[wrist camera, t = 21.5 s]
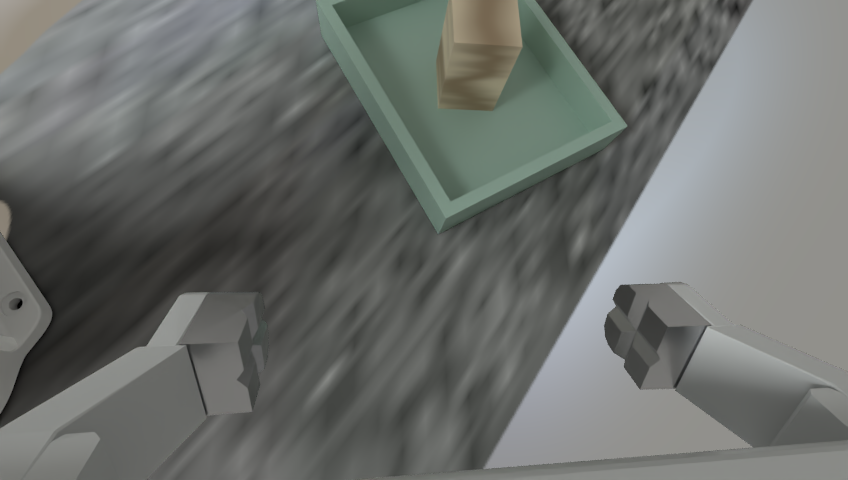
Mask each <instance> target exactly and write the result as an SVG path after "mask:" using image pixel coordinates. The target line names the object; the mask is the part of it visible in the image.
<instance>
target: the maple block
mask: <svg viewBox="0 0 848 480" xmlns="http://www.w3.org/2000/svg"><path fill="white" fill-rule="evenodd" d="M522 47H523V46H522V37H521V27H520V18H519V9H518V0H448V5H447V10H446V15H445V20H444V25H443V30H442V34H441V39H440V44H439V49H438V54H437V59H436V73H437V100H438V109H459V110H481V111H493V109H494V107H495V105H496V103H497V101H498V98H499V96H500V94H501V92H502V90H503V88H504V86H505V84H506V81H507V79H508V77H509V75H510V73H511V71H512V69H513V66H514V64H515V62H516V60H517V58H518V56H519V54H520V51H521V49H522Z"/></svg>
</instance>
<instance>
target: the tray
mask: <svg viewBox="0 0 848 480" xmlns="http://www.w3.org/2000/svg"><path fill="white" fill-rule="evenodd" d="M316 4H317V11H318V17H319V23H320V29H321V35H322V37H323V39H324V40H325V42H326V44H327V46H328V47H329V49H330V51H331V52H332V54H333V56H334V58H335V59H336V61H337V63H338V64H339V66H340V68H341V69H342V71H343V73H344V75H345V76H346V78H347V80H348V81H349V83H350V85H351V87H352V88H353V90H354V92H355V93H356V95H357V97H358V98H359V100H360V102H361V104H362V105H363V107H364V109H365V110H366V112H367V114H368V116H369V117H370V119H371V121H372V122H373V124H374V126H375V127H376V129H377V131H378V133H379V134H380V136H381V138H382V139H383V141H384V143H385V145H386V146H387V148H388V150H389V151H390V153H391V155H392V156H393V158H394V160H395V162H396V163H397V165H398V167H399V168H400V170H401V172H402V174H403V175H404V177H405V179H406V180H407V182H408V184H409V185H410V187H411V189H412V191H413V192H414V194H415V196H416V197H417V199H418V201H419V203H420V204H421V206H422V208H423V209H424V211H425V213H426V214H427V216H428V218H429V220H430V221H431V223H432V225H433V226H434V228H435V230H436V232H437V233H438V234H440V233H442V232H444V231H446V230H448V229H450V228H452V227H454V226H455V225H457V224H459V223H461V222H463V221H465V220H467V219H469V218H471V217H473V216H475V215H477V214H479V213H481V212H483V211H485V210H487V209H488V208H490V207H492V206H494V205H496V204H498V203H500V202H502V201H504V200H506V199H508V198H510V197H512V196H514V195H516V194H518V193H519V192H521V191H523V190H525V189H527V188H529V187H531V186H533V185H535V184H537V183H539V182H541V181H543V180H545V179H547V178H549V177H550V176H552V175H554V174H556V173H558V172H560V171H562V170H564V169H566V168H568V167H570V166H572V165H574V164H576V163H578V162H580V161H582V160H583V159H585V158H587V157H589V156H591V155H593V154H595V153H597V152H599V151H601V150H603V149H604V148H605V147H606V146H607V145H608V144H609V143H610V142H611V141H613V140H614V139H615V138H616V137H617V136H618V135H619V134H620V133H621V132H622V131H623V130H624V129H625V128H626V127H627V124H626V123H625V122H624V120H623V119H622V118H621V116H620V115H619V114H618V112H617V111H616V109H615V108H614V107H613V105H612V104H611V103H610V101H609V100H608V99H607V97H606V96H605V95H604V93H603V92H602V90H601V89H600V88H599V86H598V85H597V84H596V82H595V81H594V80H593V78H592V77H591V75H590V74H589V73H588V71H587V70H586V69H585V67H584V66H583V65H582V63H581V62H580V60H579V59H578V58H577V56H576V55H575V54H574V52H573V51H572V50H571V48H570V47H569V45H568V44H567V43H566V41H565V40H564V39H563V37H562V36H561V35H560V33H559V32H558V30H557V29H556V28H555V26H554V25H553V24H552V22H551V21H550V20H549V18H548V17H547V15H546V14H545V13H544V11H543V10H542V9H541V7H540V6H539V5H538V3H537V2H536V1H535V0H518V9H519V18H520V27H521V37H522V46H523V47H522V49H521V51H520V54H519V56H518V58H517V60H516V62H515V64H514V66H513V69H512V71H511V73H510V75H509V77H508V79H507V81H506V84H505V86H504V88H503V90H502V92H501V94H500V96H499V98H498V101H497V103H496V105H495V107H494V109H493V111H481V110H459V109H438V100H437V73H436V59H437V54H438V49H439V44H440V39H441V34H442V30H443V25H444V20H445V15H446V10H447V5H448V0H316Z"/></svg>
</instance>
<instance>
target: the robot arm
mask: <svg viewBox="0 0 848 480" xmlns="http://www.w3.org/2000/svg"><path fill="white" fill-rule="evenodd" d="M21 300H22V301H23V304H22V306H21V308H19V309H17V305H18V303H19V302H20V301H21ZM613 300H614V303H615V305H616V307H615V308H614V309H613V310H612V311H610V312H609V313H608V314H607V318H606V322H605V325H604V327H605V337H606V340H607V342H608V345H609V346H610V348H611V349H612V351H613V352H614V353H615V354H617V355H618V356H620V357H622V358H623V359H625V363H624V368H625V369H626V371H627V372H628V373H629V375H630V376H631V378H632V379H633V380H634V382H635V383H636V385H637V386H638V387H639V389H642V390H643V389H676V390H675V391H677V392H678V393H679V394H681V395H682V396H684V397H685V398H686V399H688V400H689V401H690V402H692V403H693V404H695V405H696V406H697V407H699V408H700V409H702V410H703V411H704V412H706V413H707V414H708V415H710V416H711V417H712V418H714V419H715V420H717V421H718V422H719V423H721V424H722V425H724V426H725V427H726V428H728V429H729V430H731V431H732V432H733V433H735V434H736V435H737V436H739V437H740V438H741V439H743V440H744V441H746V442H747V443H748V444H750V445H751V446H752V447H754V448H742V449H730V450H717V451H704V452H693V453H680V454H667V455H655V456H642V457H631V458H617V459H605V460H592V461H580V462H568V463H555V464H542V465H529V466H518V467H506V468H492V469H479V470H467V471H454V472H442V473H429V474H417V475H404V476H392V477H380V478H367V479H355V480H848V372H847V371H845V370H843V369H841V368H838V367H836V366H834V365H831V364H829V363H827V362H825V361H822V360H820V359H817V358H815V357H813V356H811V355H809V354H806V353H804V352H802V351H799V350H797V349H795V348H792V347H790V346H788V345H786V344H783V343H781V342H779V341H777V340H774V339H772V338H770V337H767V336H765V335H763V334H760V333H758V332H756V331H754V330H751V329H749V328H747V327H745V326H742V325H734V324H733V323H732V322H731V321H729V320H728V319H727V318H726V317H725V316H724V315H722V314H721V313H720V312H719V311H718V310H717V309H716V308H714V307H713V306H712V305H711V304H710V303H709V302H708V301H706V300H705V299H704V298H703V297H702V296H701V295H699V294H698V293H697V292H696V291H695V290H694V289H692V288H691V287H690V286H689V285H687V284H684V283H682V282H672V283H660V284H634V285H620V286H619V288H618V289H617V290H616V292H615V294H614V297H613ZM264 309H265V306H264V301H263V296H262V294H261V293H260V292H210V293H209V292H189V293H183V294H181V295H180V296H179V297H178V299H177V300H176V302H175V303H174V305H173V306H172V308H171V309H170V311H169V312H168V314H167V315H166V317H165V318H164V320H163V321H162V323H161V325H160V326H159V328H158V329H157V331H156V332H155V334H154V335H153V337H152V338H151V340H150V341H149V343H148V344H147V346H146V347H137V348H135V349H133V350H132V351H130V352H128V353H127V354H125V355H123V356H122V357H120V358H118V359H116V360H115V361H113V362H111V363H110V364H108V365H106V366H105V367H103V368H101V369H100V370H98V371H96V372H94V373H93V374H91V375H89V376H88V377H86V378H84V379H83V380H81V381H79V382H78V383H76V384H74V385H73V386H71V387H69V388H67V389H66V390H64V391H62V392H61V393H59V394H57V395H56V396H54V397H52V398H51V399H49V400H47V401H45V402H44V403H42V404H40V405H39V406H37V407H35V408H34V409H32V410H30V411H29V412H27V413H25V414H24V415H22V416H20V417H18V418H17V419H15V420H13V421H12V422H10V423H8V424H7V425H5V426H3V427H2V428H0V480H146V479H147V478H148V477H149V476H150V475H151V474H152V473H153V472H154V471H155V470H156V469H157V468H158V467H159V466H160V465H161V464H162V463H163V462H164V461H165V460H166V459H167V458H168V457H169V456H170V455H171V454H172V453H173V452H174V451H175V450H176V449H177V448H178V447H179V446H180V445H181V444H182V443H183V442H184V441H185V440H186V439H187V438H188V437H189V436H190V435H191V434H192V433H193V432H194V431H195V430H196V429H197V428H198V427H199V426H200V425H201V423H202V422H203V421H204V420H205V419H206V418H207V416H208V415H220V414H231V413H243V412H252V411H253V408H254V404H255V401H256V397H257V394H258V390H259V387H260V382H259V376H258V374H259V373H260V372H261V371H262V370H263V369H264V368H265V366H266V362H267V358H268V349H269V332H268V325H267V324H266V323H265V322H264V321H263V320H262V319H261V318H262V315H263V312H264ZM51 319H52V310H51V307H50V306H49V304H48V302H47V301H46V299H45V298H44V296H43V295H42V294H41V292H40V291H39V289H38V288H37V286H36V285H35V283H34V282H33V280H32V279H31V277H30V276H29V274H28V273H27V271H26V270H25V268H24V267H23V265H22V264H21V262H20V261H19V259H18V258H17V256H16V255H15V253H14V252H13V250H12V249H11V247H10V246H9V244H8V243H7V241H6V240H5V238H4V237H3V235H2V234H1V232H0V414H1V412H2V410H3V408H4V407H5V405H6V403H7V401H8V399H9V397H10V394H11V392H12V390H13V387H14V384H15V381H16V378H17V375H18V372H19V369H20V367H21V364H22V362H23V360H24V358H25V356H26V354H27V353H28V352H29V351H30V350H31V349H32V347H33V346H34V345H35V344H36V342H37V341H38V340H39V339H40V337H41V336H42V335H43V333H44V332H45V331H46V329H47V327H48V326H49V324H50V322H51Z"/></svg>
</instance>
